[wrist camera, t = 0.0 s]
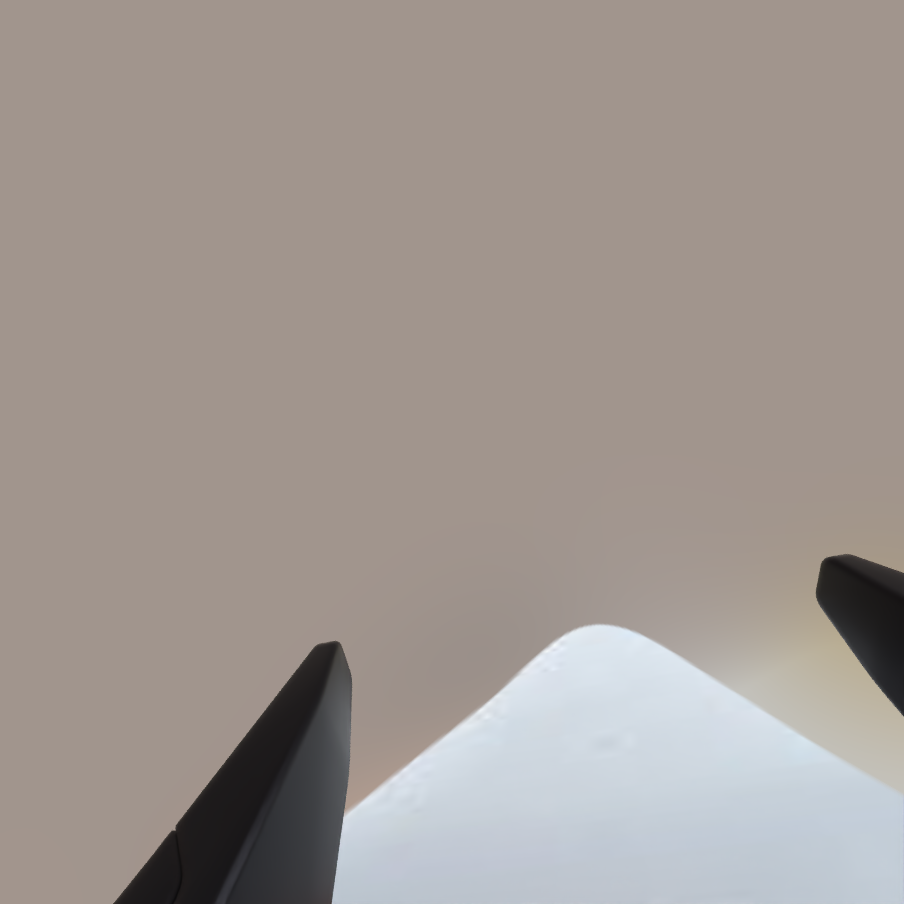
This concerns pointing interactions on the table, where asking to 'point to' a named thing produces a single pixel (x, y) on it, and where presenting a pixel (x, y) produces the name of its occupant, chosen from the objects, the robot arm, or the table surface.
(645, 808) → the table surface
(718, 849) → the table surface
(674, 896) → the table surface
